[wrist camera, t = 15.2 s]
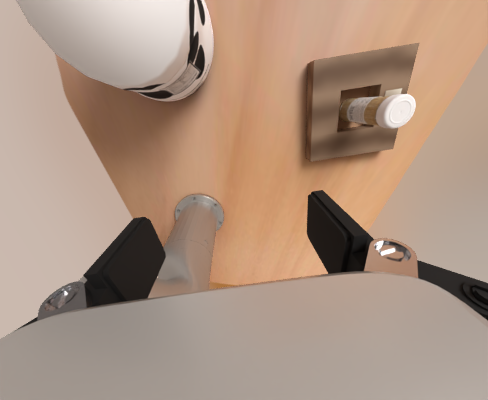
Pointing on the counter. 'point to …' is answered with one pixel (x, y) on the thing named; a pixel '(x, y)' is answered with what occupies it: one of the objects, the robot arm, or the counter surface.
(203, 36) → the milk container
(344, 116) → the sprinkles bottle
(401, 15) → the counter surface
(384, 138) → the socket board
